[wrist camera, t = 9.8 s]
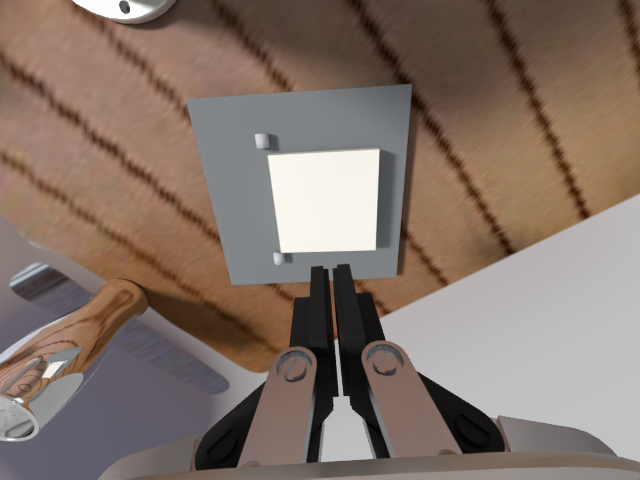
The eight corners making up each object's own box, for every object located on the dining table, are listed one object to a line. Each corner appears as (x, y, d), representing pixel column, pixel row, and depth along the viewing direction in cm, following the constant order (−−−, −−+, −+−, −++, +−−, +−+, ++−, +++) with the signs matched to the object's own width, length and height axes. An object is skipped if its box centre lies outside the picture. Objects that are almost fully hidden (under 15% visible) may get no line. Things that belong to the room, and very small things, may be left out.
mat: (191, 100, 24) (179, 98, 22) (408, 85, 23) (417, 82, 21) (234, 279, 32) (228, 291, 30) (393, 271, 32) (399, 283, 30)
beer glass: (156, 287, 33) (40, 405, 19) (147, 324, 36) (40, 450, 22) (99, 267, 32) (-68, 378, 18) (94, 307, 34) (-54, 430, 21)
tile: (267, 155, 23) (379, 149, 22) (271, 153, 25) (376, 147, 24) (281, 252, 27) (375, 250, 27) (283, 246, 29) (373, 243, 28)
